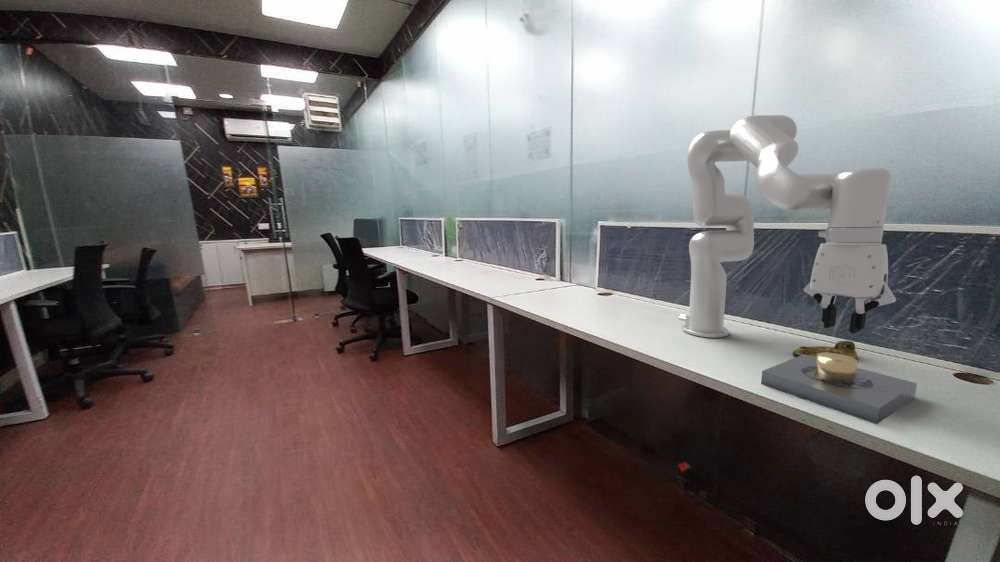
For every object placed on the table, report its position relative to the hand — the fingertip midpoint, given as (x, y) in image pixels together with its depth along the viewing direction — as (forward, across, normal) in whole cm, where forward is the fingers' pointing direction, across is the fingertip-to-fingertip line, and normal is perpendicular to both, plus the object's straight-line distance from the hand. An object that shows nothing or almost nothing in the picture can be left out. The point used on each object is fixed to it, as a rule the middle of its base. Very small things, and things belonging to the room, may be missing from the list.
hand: (841, 328), depth 71 cm
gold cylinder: (+13, 0, 0) cm, 13 cm away
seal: (+14, -9, +20) cm, 26 cm away
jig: (+13, 0, 0) cm, 13 cm away
